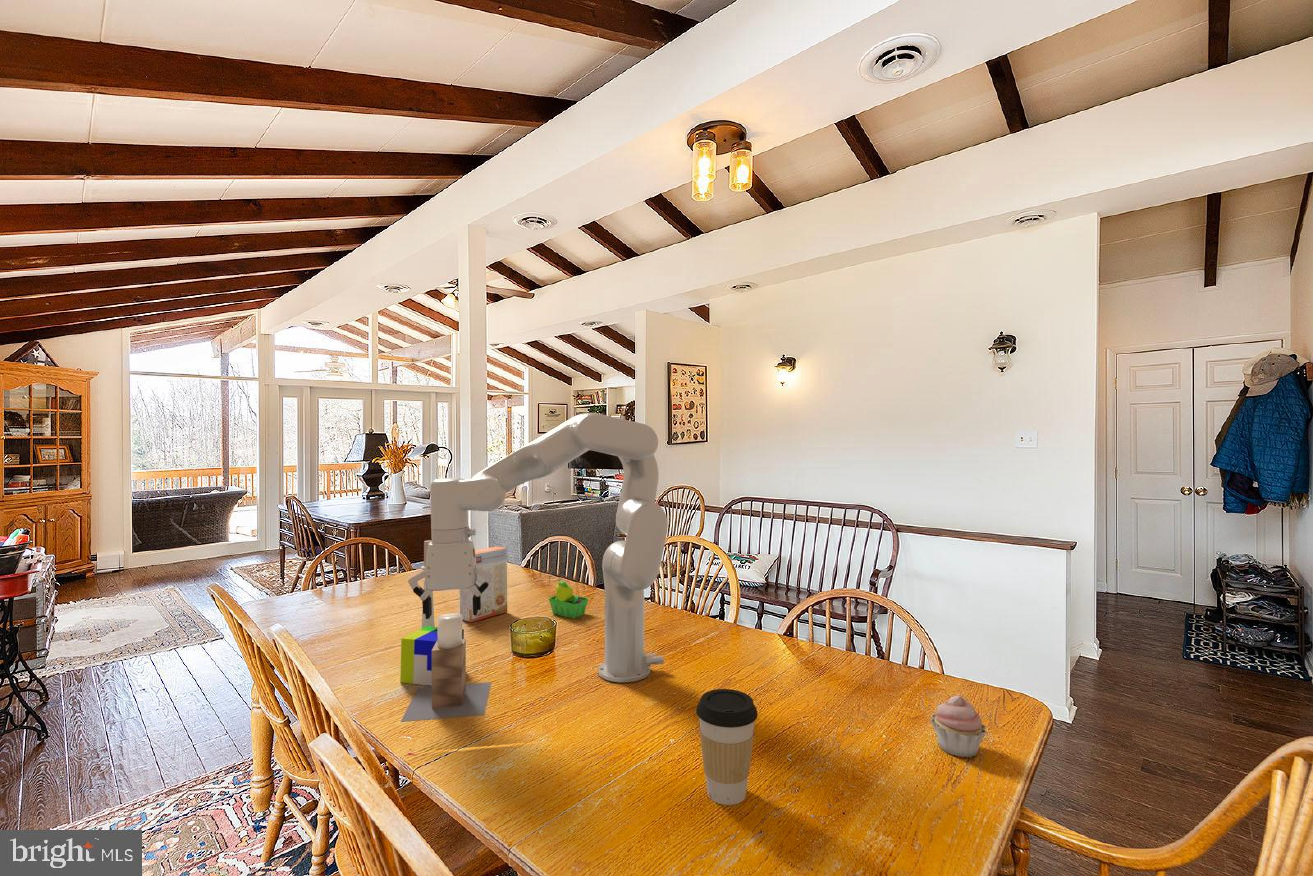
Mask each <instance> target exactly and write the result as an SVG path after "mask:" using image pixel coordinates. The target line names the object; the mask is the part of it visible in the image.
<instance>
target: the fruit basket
mask: <svg viewBox="0 0 1313 876" xmlns="http://www.w3.org/2000/svg"><path fill="white" fill-rule="evenodd" d="M555 591H556V592H555V595H553V596H550V597H548V601H549V603H550V606H551V607H550V608H551V612H552V614H554V615H558V616H560V617H561V616H562V617H566V618H571V619H576V618H579V617H581V616H584V615H585V612H586V609H587V605H588V602H589V598H588V597H585V596H580V595H577V594H573V593H574V588H573V587H572V586H570V585H569V584H568V583H567V582H566V581H564V580H560V582H558V583H557V584H556V587H555Z"/></svg>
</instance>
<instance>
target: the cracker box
mask: <svg viewBox="0 0 1313 876" xmlns="http://www.w3.org/2000/svg"><path fill="white" fill-rule="evenodd" d="M475 556H476V566H477V567H479V568H482V569H484V570H486V571H489V572H491V573H493V577H492V579H491V581H490V583H489V585H488V587H487V588H486V590H485V591H484V592H483V593H482V594H481V610H478V613H477V615H473V596H474V594H473V592H472V591H471V590H470V589H469V588H467V589H459V614H461V615H462V621H464V622H467V623H473V622H478V621H481V620H484V619H487V618H488V619H489V618H490V617H494V616H498V615H501V614H506V613H507V612H508V551H507V547H502V546H498V545H496V546H491V547H486V548H485V547H484V548H481V549H480V548H479V549H475ZM484 581H485V578H484V577H482V576H480V575H478V574H477V580H476V583H477V584H478V585H479V586H481V585H482V584H483V583H484Z"/></svg>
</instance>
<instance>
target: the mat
mask: <svg viewBox="0 0 1313 876" xmlns="http://www.w3.org/2000/svg"><path fill="white" fill-rule="evenodd" d="M491 686H492V681H485V682H474V683H473V682H472V683H470V682H469V683H466V694H465V697H464V700H463V703H462V706H451V707H438V708H432V686H430V685H427V686H418V687H417V688H416V690H415V692H414V694H413V696H412V698H411V700H410V702H409V704H408V707H406V708H407V709H406V710H405V711H404V712H405V713H404V714H403V716H402V718H401V720H400V722H401V723H403V722H404V723H405V722H415V721H416V722H417V721H429V720H430V721H431V720H441V719H442V720H443V719H450V718H451V719H452V718H455V719H456V718H464V717H465V718H466V717H475V716H476V717H477V716H484V715H485V713H486V708H487V703H488V700H489V695H490V690H491Z"/></svg>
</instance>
